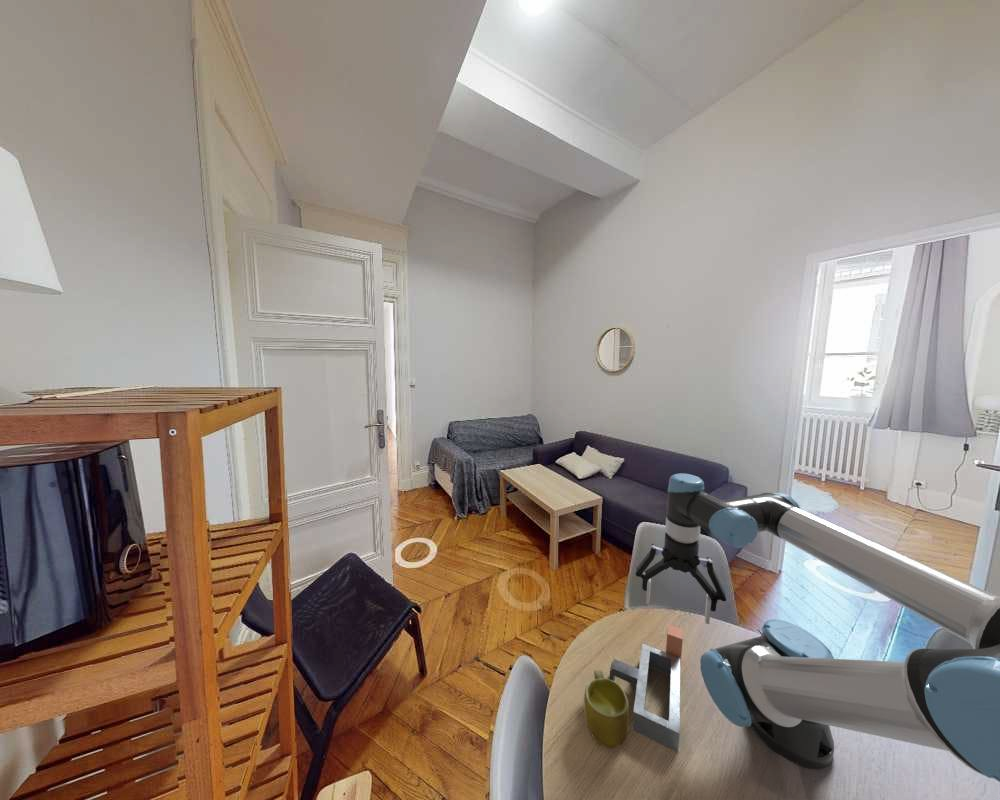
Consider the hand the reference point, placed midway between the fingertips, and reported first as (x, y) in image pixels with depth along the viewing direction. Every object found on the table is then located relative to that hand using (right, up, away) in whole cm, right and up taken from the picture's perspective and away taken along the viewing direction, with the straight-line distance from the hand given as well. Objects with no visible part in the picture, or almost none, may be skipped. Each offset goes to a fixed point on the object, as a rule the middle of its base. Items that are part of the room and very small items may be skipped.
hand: (676, 610), depth 86 cm
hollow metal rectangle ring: (-11, -18, -5) cm, 21 cm away
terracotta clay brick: (0, -16, +3) cm, 16 cm away
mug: (-22, -19, -10) cm, 31 cm away
